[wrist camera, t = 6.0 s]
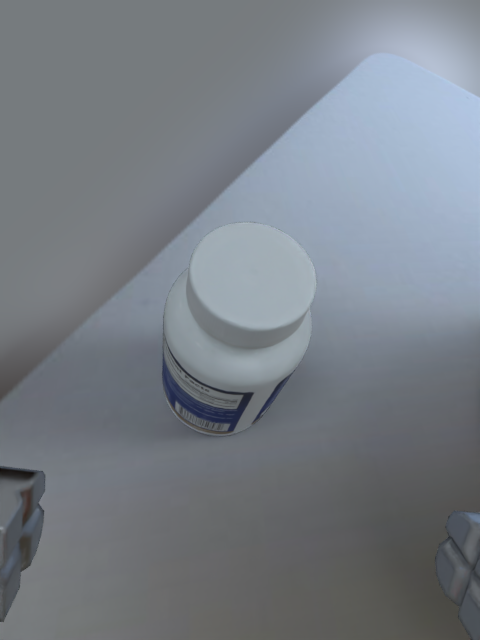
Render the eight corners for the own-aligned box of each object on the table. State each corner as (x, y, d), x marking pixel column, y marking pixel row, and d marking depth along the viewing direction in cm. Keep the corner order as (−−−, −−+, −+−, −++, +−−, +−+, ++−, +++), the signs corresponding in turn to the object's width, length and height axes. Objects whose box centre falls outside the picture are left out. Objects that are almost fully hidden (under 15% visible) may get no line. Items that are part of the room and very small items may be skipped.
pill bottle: (242, 320, 24) (288, 188, 16) (290, 411, 22) (372, 315, 14) (145, 355, 22) (137, 226, 14) (187, 457, 20) (208, 380, 12)
